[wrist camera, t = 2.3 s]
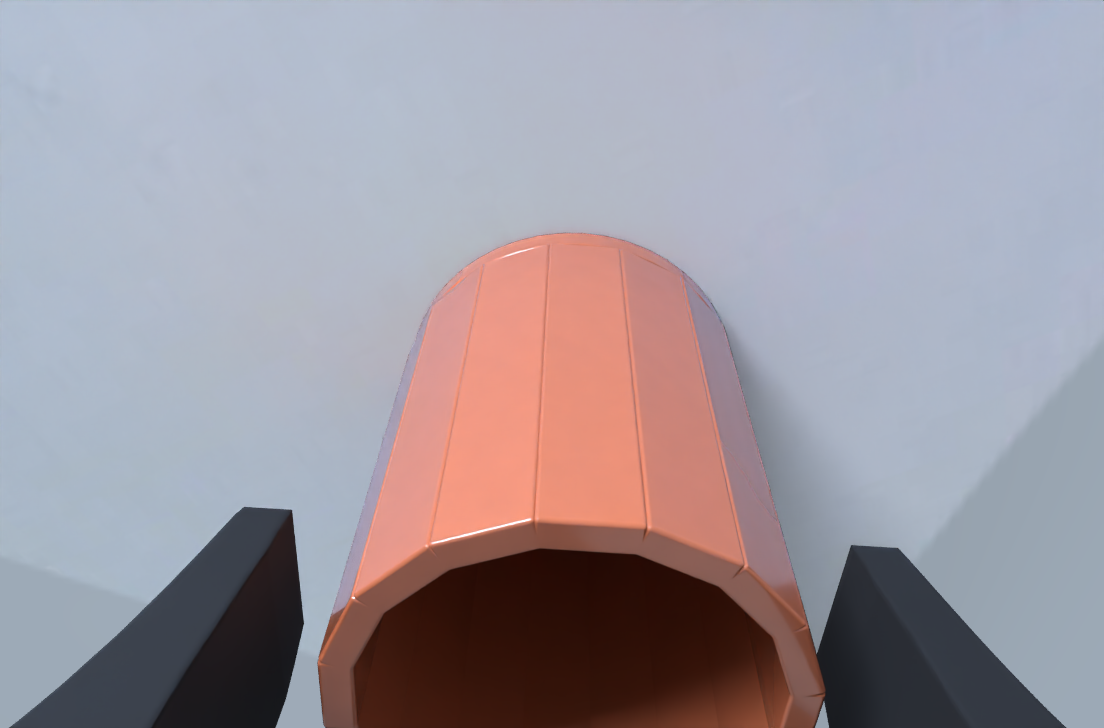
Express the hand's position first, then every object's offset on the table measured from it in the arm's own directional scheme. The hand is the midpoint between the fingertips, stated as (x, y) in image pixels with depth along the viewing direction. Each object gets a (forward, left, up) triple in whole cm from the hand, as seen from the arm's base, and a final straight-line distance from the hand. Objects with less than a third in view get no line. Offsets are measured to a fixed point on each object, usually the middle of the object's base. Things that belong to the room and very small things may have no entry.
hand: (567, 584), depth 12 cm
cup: (0, 0, -5) cm, 5 cm away
